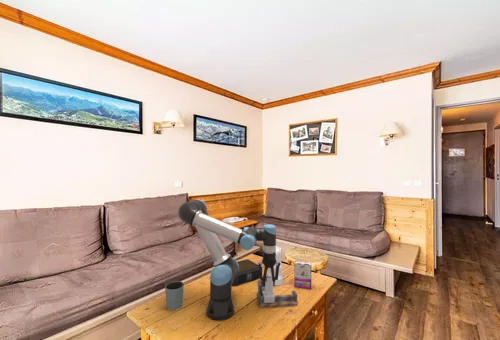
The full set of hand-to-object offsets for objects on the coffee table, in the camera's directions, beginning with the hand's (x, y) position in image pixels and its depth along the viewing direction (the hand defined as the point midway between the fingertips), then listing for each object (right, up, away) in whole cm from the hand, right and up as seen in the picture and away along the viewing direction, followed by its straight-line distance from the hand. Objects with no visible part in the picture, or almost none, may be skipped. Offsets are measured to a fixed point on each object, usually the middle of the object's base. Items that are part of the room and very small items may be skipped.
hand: (268, 291), depth 136 cm
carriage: (0, -5, 0) cm, 5 cm away
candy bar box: (+25, -8, +20) cm, 33 cm away
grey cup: (-54, -6, -4) cm, 54 cm away
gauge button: (-2, +1, +9) cm, 9 cm away
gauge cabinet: (-2, -7, +9) cm, 11 cm away
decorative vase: (+7, -7, +26) cm, 28 cm away
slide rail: (+5, -7, +1) cm, 9 cm away
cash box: (-17, -7, +33) cm, 38 cm away
